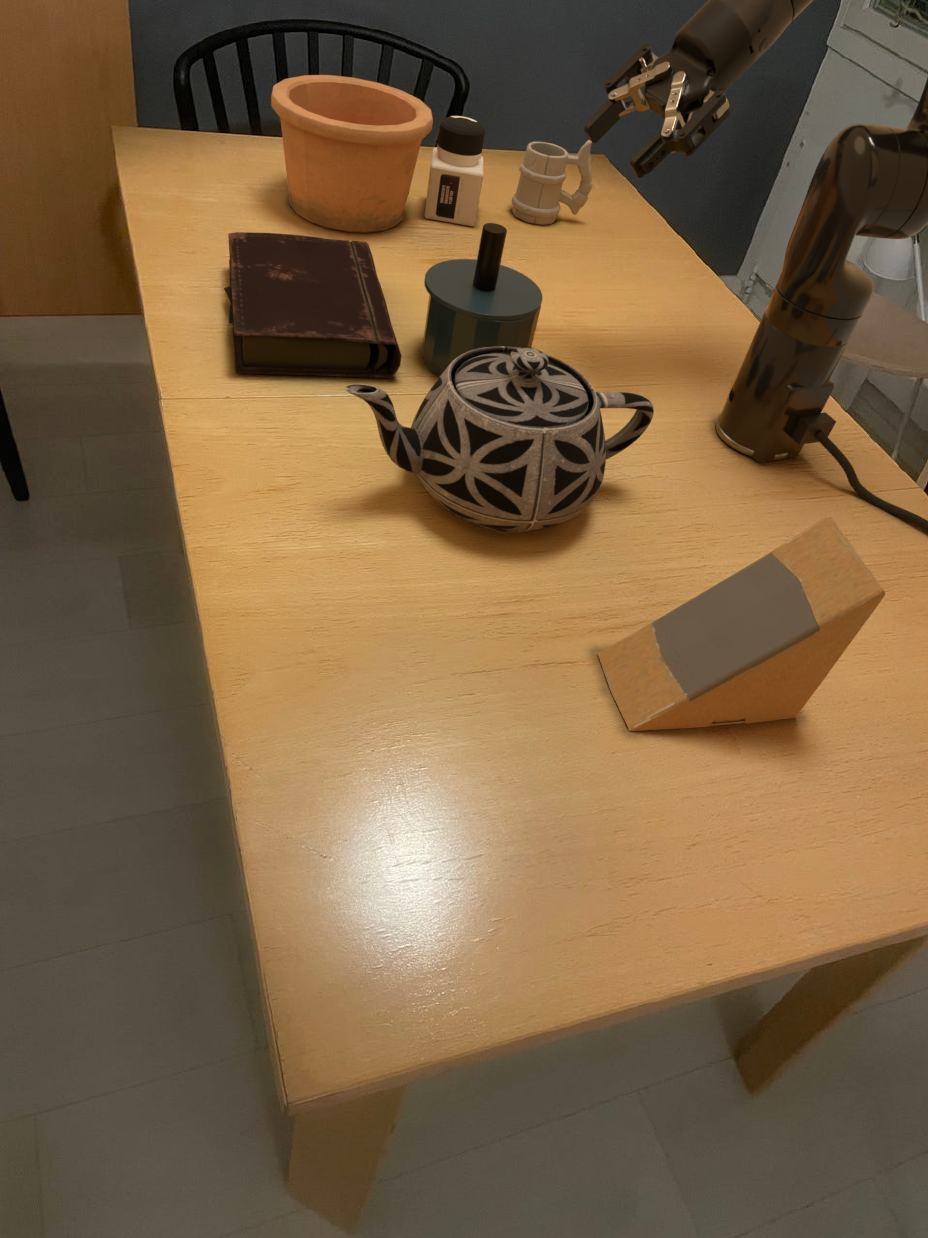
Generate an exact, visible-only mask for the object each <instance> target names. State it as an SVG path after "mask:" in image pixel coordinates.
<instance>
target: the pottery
mask: <svg viewBox="0 0 928 1238" xmlns="http://www.w3.org/2000/svg"><path fill="white" fill-rule="evenodd" d="M270 97H271V98H270V103H271V104H270V106H271V108H272V109H273V111H274V112H275V113H276V114H277V116H278V118H280V128H281V136H282V146H283V155H284V165H285V171H286V172H285V174H286V181H287V190H288V191H287V192H288V198H289V202H288V203H289V205H290V206H291V208H292V209H293V211H294V212H295V214H297V215H298V216H300V217H302V218H303V219H304V220H306V221H307V222H310V223H312V224H315V225H317V226H320V227H323V228H325V229H330V230H334V231H335V230H336V231H340V232H345V233H360V234H370V233H377V232H384V231H387V230H389V229H391V228H393V227H394V228H395V227H396V226H398V225H399V224H400V222H401V221H402V220H403V219H404V214H405V209H406V205H407V201H408V197H409V194H410V189H411V185H412V181H413V177H414V173H415V169H416V165H417V161H418V156H419V152H420V150H421V149H420V148H421V145H422V141H423V139H424V138H426V137H427V136H428V135H429V134H430V133H431V132H432V130H433V123H434V118H433V113H432V108H430V107H429V106H428V105H427V104H425V103H424V102H423V100H421V99H420V98H418V97H416V96H414V95H411V94H409V93H408V92H406V91H404V90H402V89H399V88H395V87H393V86H389V85H387V84H383V83H380V82H376V81H371V80H367V79H362V78H357V77H353V76H352V77H351V76H342V75H334V74H333V75H331V74H307V75H306V74H305V75H300V76H294V77H289V78H284V79H282V80H281V81H279V82H277V83H275V84H274V85H273V87H272V91H271V96H270Z"/></svg>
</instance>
